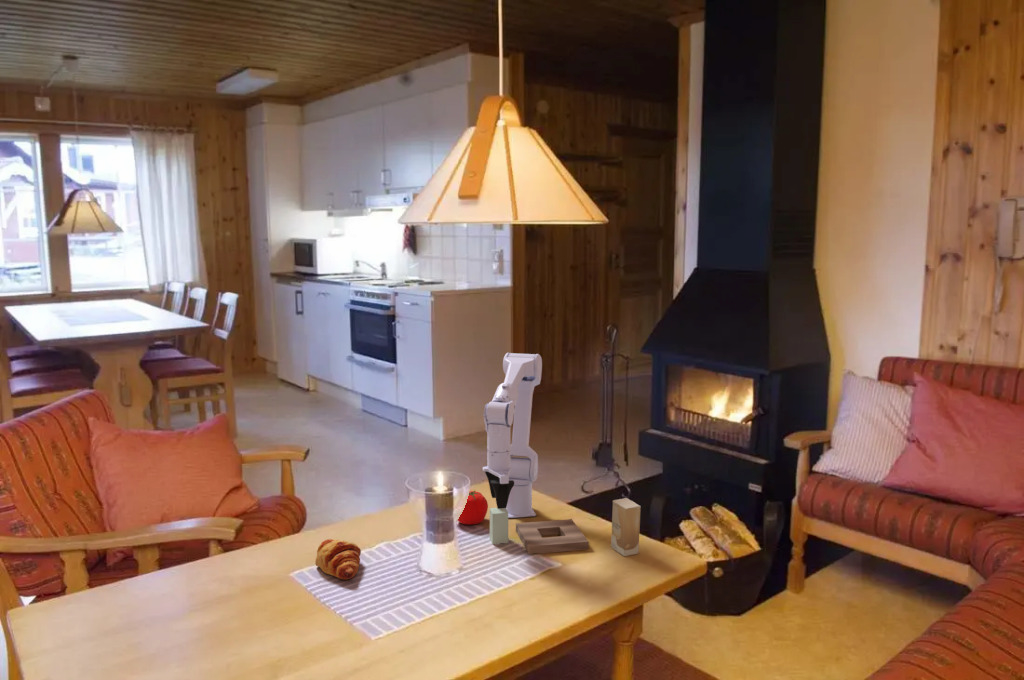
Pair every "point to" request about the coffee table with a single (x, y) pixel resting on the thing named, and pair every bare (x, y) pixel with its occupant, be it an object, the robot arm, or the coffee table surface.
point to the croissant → (338, 558)
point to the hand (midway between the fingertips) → (498, 502)
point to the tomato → (474, 509)
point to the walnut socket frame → (566, 541)
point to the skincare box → (625, 526)
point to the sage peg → (498, 525)
